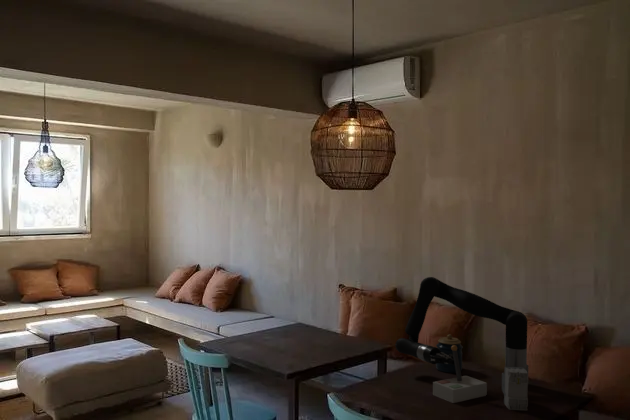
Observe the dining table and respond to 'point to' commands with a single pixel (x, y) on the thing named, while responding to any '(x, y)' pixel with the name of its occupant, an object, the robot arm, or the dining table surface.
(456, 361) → the breaker lever
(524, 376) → the circuit breaker
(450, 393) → the box
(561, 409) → the dining table surface
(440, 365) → the canister
